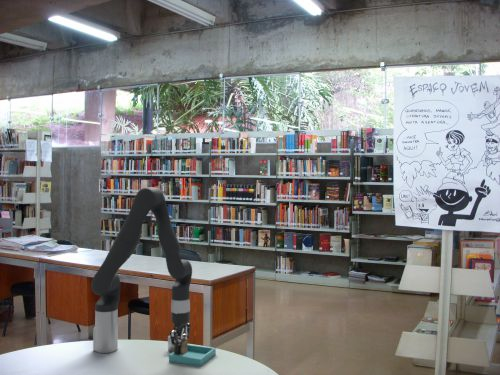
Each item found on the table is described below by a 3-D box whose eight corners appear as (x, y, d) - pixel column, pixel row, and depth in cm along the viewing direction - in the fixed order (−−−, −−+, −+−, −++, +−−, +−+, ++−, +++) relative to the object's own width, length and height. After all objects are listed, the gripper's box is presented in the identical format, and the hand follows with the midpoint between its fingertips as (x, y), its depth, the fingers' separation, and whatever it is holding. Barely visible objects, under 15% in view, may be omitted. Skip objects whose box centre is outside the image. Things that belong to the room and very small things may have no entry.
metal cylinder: (166, 351, 213) (166, 337, 212) (170, 348, 216) (171, 334, 216) (174, 352, 211) (174, 338, 211) (179, 349, 215) (179, 335, 215)
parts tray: (168, 361, 201) (168, 354, 201) (185, 350, 214) (185, 344, 214) (200, 366, 196) (200, 359, 196) (215, 354, 209) (215, 348, 209)
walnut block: (173, 353, 202) (173, 341, 202) (178, 350, 206) (178, 338, 206) (182, 355, 201) (182, 342, 201) (187, 351, 205) (187, 339, 204)
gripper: (180, 305, 211) (180, 345, 211) (163, 313, 198) (163, 357, 198) (196, 306, 208) (196, 348, 209) (180, 315, 195) (180, 359, 195)
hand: (180, 352), depth 203 cm, fingers closed on walnut block, 4 cm apart
